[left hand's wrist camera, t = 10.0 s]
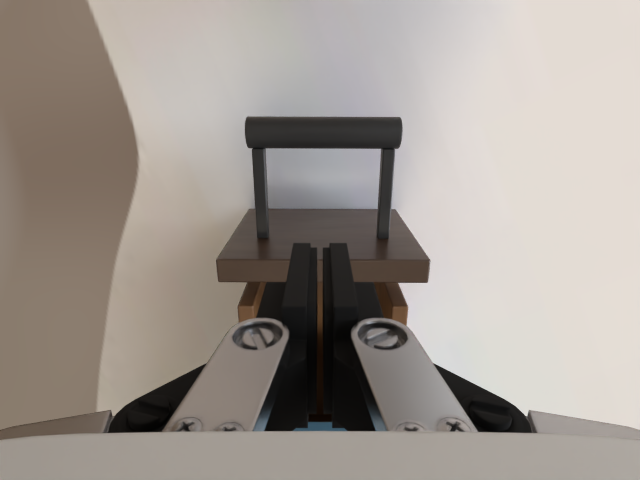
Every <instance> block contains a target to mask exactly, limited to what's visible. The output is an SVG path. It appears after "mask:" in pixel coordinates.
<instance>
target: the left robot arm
mask: <svg viewBox="0 0 640 480" xmlns="http://www.w3.org/2000/svg"><path fill="white" fill-rule="evenodd" d="M308 414H317V247H311V243H293V247H292V253H291V258H290V263H289V269H288V274H287V279H286V282H267V283H266V285H265V289H264V292H263V296H262V299H261V302H260V306H259V309H258V313H257V316H256V318H253V319H248V320H245V321H242V322H240V323H238V324H236V325H235V326H233V327H232V328H231V329H230V330H229V331H228V332H227V334H226V335H225V337H224V338H223V340H222V341H221V343H220V344H219V346H218V347H217V349H216V350H215V352H214V353H213V355H212V356H211V358H210V359H209V361H208V362H207V363H206V364H204V365H202V366H200V367H198V368H196V369H194V370H192V371H190V372H189V373H187V374H185V375H183V376H181V377H179V378H177V379H175V380H173V381H171V382H169V383H167V384H165V385H163V386H161V387H159V388H157V389H155V390H153V391H151V392H149V393H147V394H145V395H143V396H141V397H139V398H137V399H135V400H134V401H132V402H131V403H129V404H127V405H126V406H124V407H123V408H122V409H121V410H120V411H119V412H118V413H117V414H116V415H115V416H112V412H111V410H108V411H102V412H96V413H90V414H84V415H78V416H73V417H67V418H61V419H55V420H49V421H43V422H37V423H31V424H25V425H19V426H13V427H9V428H6V429H2V430H0V480H640V430H638V429H634V428H631V427H627V426H621V425H615V424H609V423H603V422H597V421H591V420H585V419H579V418H573V417H568V416H562V415H556V414H550V413H544V412H538V411H532V410H529V412H528V416H525V415H524V414H523V413H522V412H521V411H520V410H519V409H518V408H517V407H516V406H514V405H513V404H511V403H509V402H508V401H506V400H505V399H503V398H501V397H499V396H497V395H495V394H493V393H491V392H489V391H487V390H485V389H483V388H481V387H479V386H477V385H475V384H473V383H471V382H469V381H467V380H465V379H463V378H461V377H459V376H457V375H455V374H453V373H451V372H450V371H448V370H446V369H444V368H442V367H440V366H438V365H436V364H434V363H433V362H432V361H431V359H430V358H429V356H428V355H427V353H426V352H425V350H424V349H423V347H422V346H421V344H420V343H419V341H418V340H417V338H416V337H415V335H414V334H413V332H412V331H411V330H410V329H409V328H408V327H407V326H405V325H404V324H402V323H400V322H398V321H395V320H392V319H387V318H384V316H383V313H382V309H381V306H380V302H379V299H378V296H377V292H376V289H375V285H374V283H373V282H354V279H353V274H352V269H351V263H350V258H349V253H348V247H347V243H329V247H323V414H332V428H344V429H346V430H347V431H293V430H294V429H296V428H308Z"/></svg>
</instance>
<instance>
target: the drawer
mask: <svg viewBox="0 0 640 480" xmlns="http://www.w3.org/2000/svg"><path fill="white" fill-rule="evenodd" d="M245 137H246V143H247V146H248V148H253V149H252V159H253V177H254V194H255V209H249V210H248V212H247V213H246V215H245V216H244V218H243V219H242V221H241V222H240V224H239V225H238V227H237V229H236V230H235V232H234V233H233V235H232V236H231V238H230V239H229V241H228V242H227V244H226V245H225V247H224V249H223V250H222V252H221V253H220V255H219V256H218V258H217V259H216V264H217V274H218V281H219V282H247V284H246V287H245V290H244V292H243V295H242V297H241V300H240V302H239V305H238V317H239V323H240V322H242V321H245V320H248V319H253V318H256V316H257V313H258V309H259V306H260V302H261V299H262V296H263V292H264V289H265V285H266V283H267V282H286V279H287V274H288V269H289V263H290V258H291V253H292V247H293V243H311V247H317V414H308V422H332V414H323V247H329V243H347V247H348V253H349V258H350V263H351V269H352V274H353V279H354V282H373V283H374V285H375V289H376V292H377V296H378V299H379V302H380V306H381V309H382V313H383V316H384V318H387V319H392V320H395V321H398V322H400V323H402V324H404V325H405V326H406V325H407V315H408V305H407V303H406V301H405V298H404V296H403V294H402V291H401V289H400V287H399V284H398V283H427V282H428V279H429V270H430V259H429V258H428V256H427V255H426V253H425V252H424V250H423V249H422V247H421V246H420V245H419V243H418V242H417V240H416V239H415V237H414V236H413V234H412V233H411V231H410V230H409V229H408V227H407V226H406V224H405V223H404V221H403V220H402V218H401V217H400V215H399V214H398V212H397V211H396V210H395V209H391V201H392V186H393V172H394V158H395V149H398V148H399V147H400V144H401V140H402V120H401V118H400V117H247V118H246V121H245ZM265 148H344V149H381V162H380V180H379V197H378V209H268V192H267V170H266V149H265Z"/></svg>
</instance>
